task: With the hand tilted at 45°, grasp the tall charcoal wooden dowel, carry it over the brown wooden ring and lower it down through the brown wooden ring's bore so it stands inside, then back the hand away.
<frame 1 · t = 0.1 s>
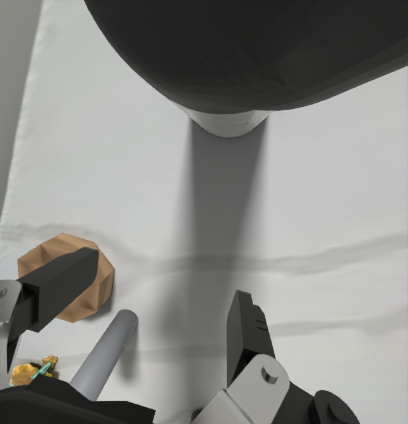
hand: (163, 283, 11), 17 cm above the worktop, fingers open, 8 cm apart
dowel: (127, 318, 36), on the worktop
brown wooden ring: (77, 271, 34), on the worktop
green toy figurine: (40, 373, 45), on the worktop
supplement bottle: (207, 417, 41), on the worktop
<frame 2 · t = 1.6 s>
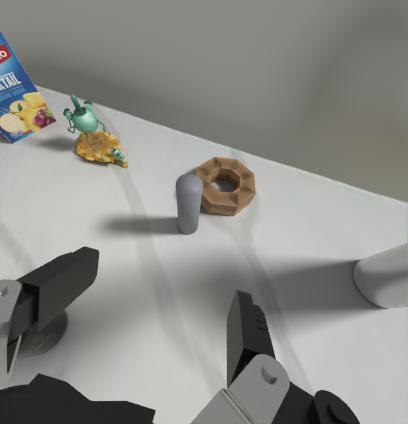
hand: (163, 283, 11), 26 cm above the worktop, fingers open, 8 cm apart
dowel: (188, 225, 42), on the worktop
brown wooden ring: (222, 190, 47), on the worktop
green toy figurine: (100, 151, 50), on the worktop
juice carton: (27, 125, 52), on the worktop
supplement bottle: (45, 327, 31), on the worktop
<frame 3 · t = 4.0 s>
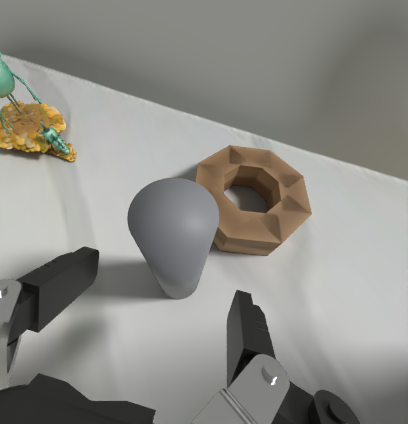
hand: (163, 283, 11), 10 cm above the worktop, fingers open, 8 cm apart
dowel: (179, 278, 21), on the worktop
brown wooden ring: (243, 205, 26), on the worktop
green toy figurine: (33, 135, 30), on the worktop
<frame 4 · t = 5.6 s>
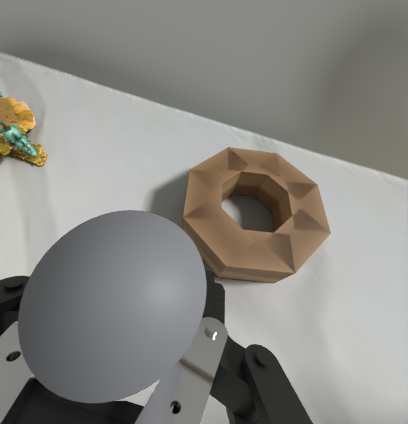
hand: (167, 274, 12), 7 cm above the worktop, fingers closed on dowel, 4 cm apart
dowel: (165, 315, 17), on the worktop, touching gripper
brown wooden ring: (244, 219, 22), on the worktop
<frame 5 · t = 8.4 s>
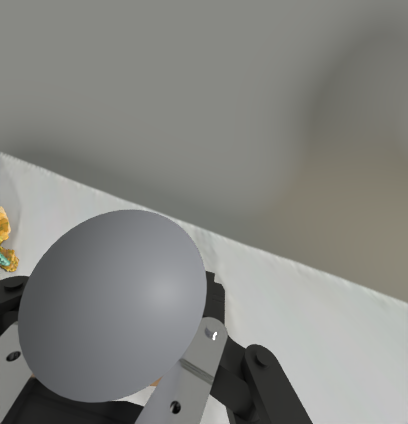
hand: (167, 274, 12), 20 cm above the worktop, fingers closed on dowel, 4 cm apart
dowel: (165, 315, 17), point 13 cm above the worktop, touching gripper
when the fingers open (8 cm above the worktop, at t = 11.4 s): dowel drops 1 cm, resting in brown wooden ring.
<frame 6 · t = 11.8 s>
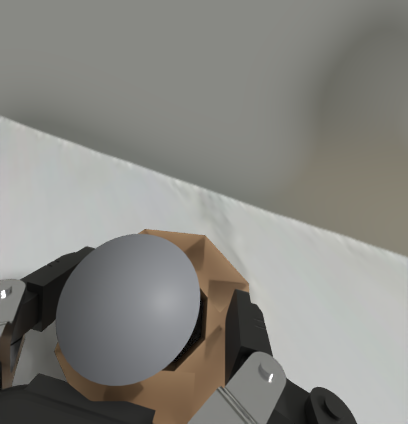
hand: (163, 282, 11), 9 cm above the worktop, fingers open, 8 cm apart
dowel: (166, 316, 18), resting in brown wooden ring
brown wooden ring: (166, 316, 18), on the worktop
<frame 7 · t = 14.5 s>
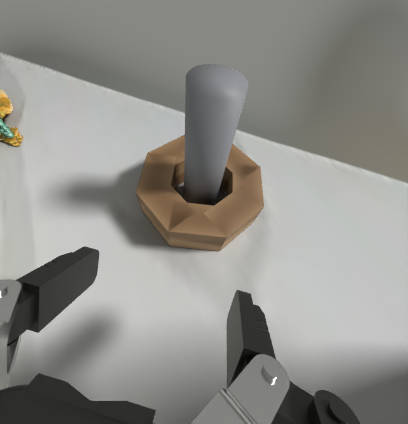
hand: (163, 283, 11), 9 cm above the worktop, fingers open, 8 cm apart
dowel: (199, 199, 25), resting in brown wooden ring
brown wooden ring: (199, 198, 25), on the worktop
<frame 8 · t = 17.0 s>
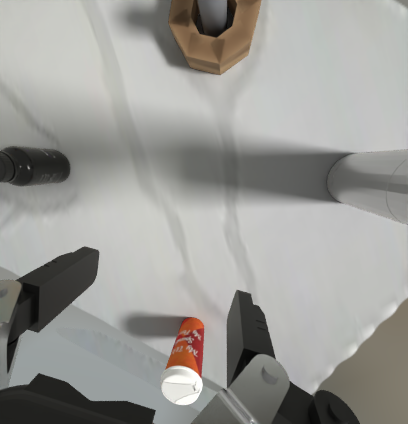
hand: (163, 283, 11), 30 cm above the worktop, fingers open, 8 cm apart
dowel: (214, 28, 33), resting in brown wooden ring
brown wooden ring: (214, 28, 33), on the worktop
paper cup: (192, 326, 48), on the worktop
supplement bottle: (57, 166, 42), on the worktop
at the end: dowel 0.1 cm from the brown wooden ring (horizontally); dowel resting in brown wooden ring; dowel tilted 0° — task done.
